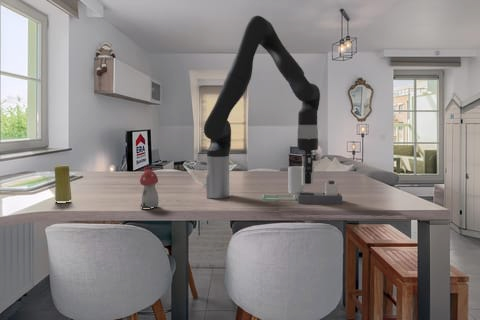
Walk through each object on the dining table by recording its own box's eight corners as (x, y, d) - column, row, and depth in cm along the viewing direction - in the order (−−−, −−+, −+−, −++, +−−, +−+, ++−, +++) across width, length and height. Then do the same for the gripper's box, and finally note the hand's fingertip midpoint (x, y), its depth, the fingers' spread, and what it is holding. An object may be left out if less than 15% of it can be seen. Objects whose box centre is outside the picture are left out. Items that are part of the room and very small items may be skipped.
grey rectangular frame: (298, 206, 146) (298, 195, 146) (296, 202, 153) (297, 192, 153) (342, 206, 145) (342, 196, 145) (338, 203, 152) (338, 192, 152)
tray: (262, 202, 153) (262, 198, 153) (262, 198, 162) (262, 194, 162) (295, 203, 152) (295, 199, 152) (294, 198, 161) (294, 194, 161)
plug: (302, 185, 147) (302, 164, 146) (301, 184, 151) (301, 163, 150) (313, 185, 147) (313, 164, 146) (312, 184, 151) (312, 163, 150)
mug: (303, 196, 166) (303, 168, 165) (287, 195, 167) (287, 167, 166) (304, 192, 176) (304, 165, 174) (289, 191, 177) (289, 165, 176)
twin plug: (326, 202, 147) (326, 181, 146) (324, 200, 151) (325, 180, 150) (337, 203, 147) (337, 181, 146) (335, 200, 151) (335, 180, 150)
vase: (59, 200, 159) (57, 165, 158) (74, 200, 159) (72, 165, 158) (52, 203, 153) (50, 167, 152) (68, 203, 153) (66, 167, 152)
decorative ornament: (143, 205, 150) (142, 165, 149) (160, 204, 151) (159, 165, 149) (138, 210, 141) (137, 168, 139) (156, 210, 141) (155, 168, 140)
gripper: (296, 136, 154) (295, 180, 156) (299, 138, 140) (298, 185, 142) (315, 136, 154) (315, 180, 155) (320, 137, 140) (319, 185, 141)
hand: (307, 182), depth 149 cm, fingers closed on plug, 4 cm apart
